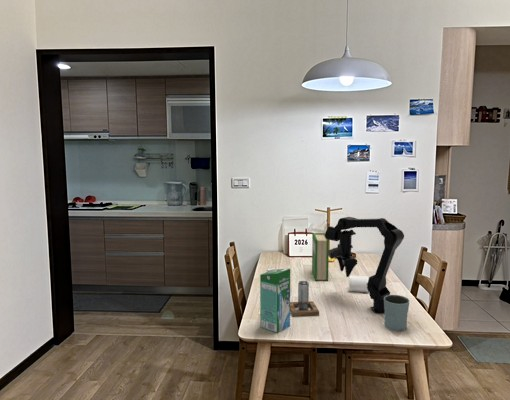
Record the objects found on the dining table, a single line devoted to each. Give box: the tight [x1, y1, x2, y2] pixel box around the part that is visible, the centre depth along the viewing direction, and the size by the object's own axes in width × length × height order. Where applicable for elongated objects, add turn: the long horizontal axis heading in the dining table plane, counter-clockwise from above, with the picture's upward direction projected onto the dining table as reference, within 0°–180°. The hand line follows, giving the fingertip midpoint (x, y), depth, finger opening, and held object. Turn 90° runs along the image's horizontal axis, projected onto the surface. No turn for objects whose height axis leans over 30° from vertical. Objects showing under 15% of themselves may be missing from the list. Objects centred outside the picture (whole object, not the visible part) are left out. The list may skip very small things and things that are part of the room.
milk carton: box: [259, 267, 291, 334], centre depth 166 cm, size 9×9×25 cm
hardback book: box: [311, 232, 330, 282], centre depth 233 cm, size 18×7×24 cm, turn 177°
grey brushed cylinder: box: [297, 280, 310, 310], centre depth 183 cm, size 5×5×14 cm
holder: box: [290, 300, 320, 318], centre depth 184 cm, size 12×12×2 cm
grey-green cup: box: [384, 294, 410, 332], centre depth 167 cm, size 10×10×12 cm
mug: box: [348, 274, 370, 293], centre depth 211 cm, size 12×10×8 cm
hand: (344, 273), depth 196 cm, fingers open, 9 cm apart
